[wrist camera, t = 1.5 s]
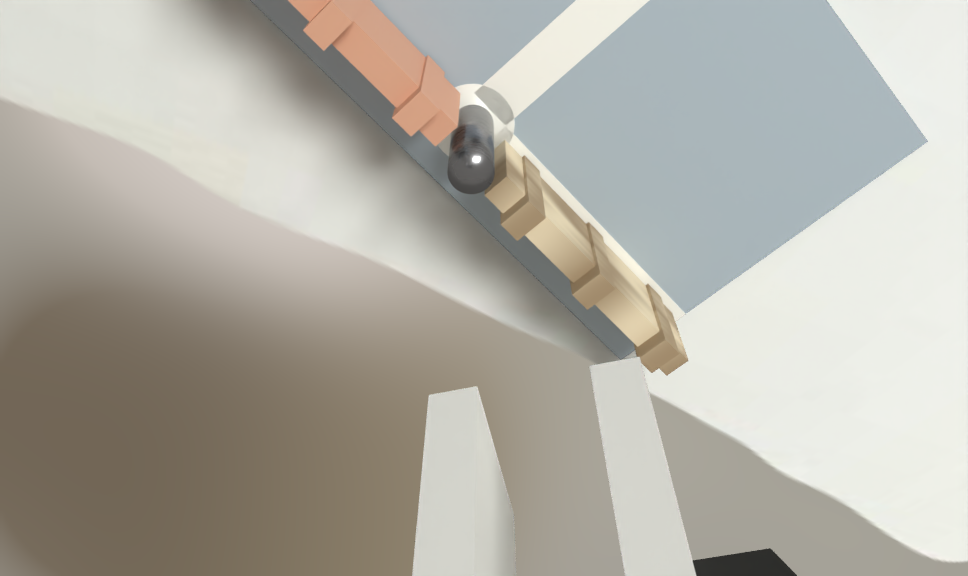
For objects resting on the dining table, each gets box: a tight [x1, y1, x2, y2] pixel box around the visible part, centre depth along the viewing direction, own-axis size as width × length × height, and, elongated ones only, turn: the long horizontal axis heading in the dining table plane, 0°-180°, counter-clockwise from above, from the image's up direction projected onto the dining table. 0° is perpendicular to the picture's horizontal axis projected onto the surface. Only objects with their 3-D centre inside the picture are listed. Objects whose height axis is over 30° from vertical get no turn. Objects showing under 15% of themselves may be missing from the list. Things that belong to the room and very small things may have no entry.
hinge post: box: [447, 105, 495, 194], centre depth 37 cm, size 2×2×6 cm
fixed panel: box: [485, 140, 688, 375], centre depth 39 cm, size 12×2×5 cm, turn 43°
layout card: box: [250, 0, 928, 360], centre depth 37 cm, size 28×17×1 cm, turn 43°
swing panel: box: [288, 0, 460, 147], centre depth 34 cm, size 12×2×5 cm, turn 43°
